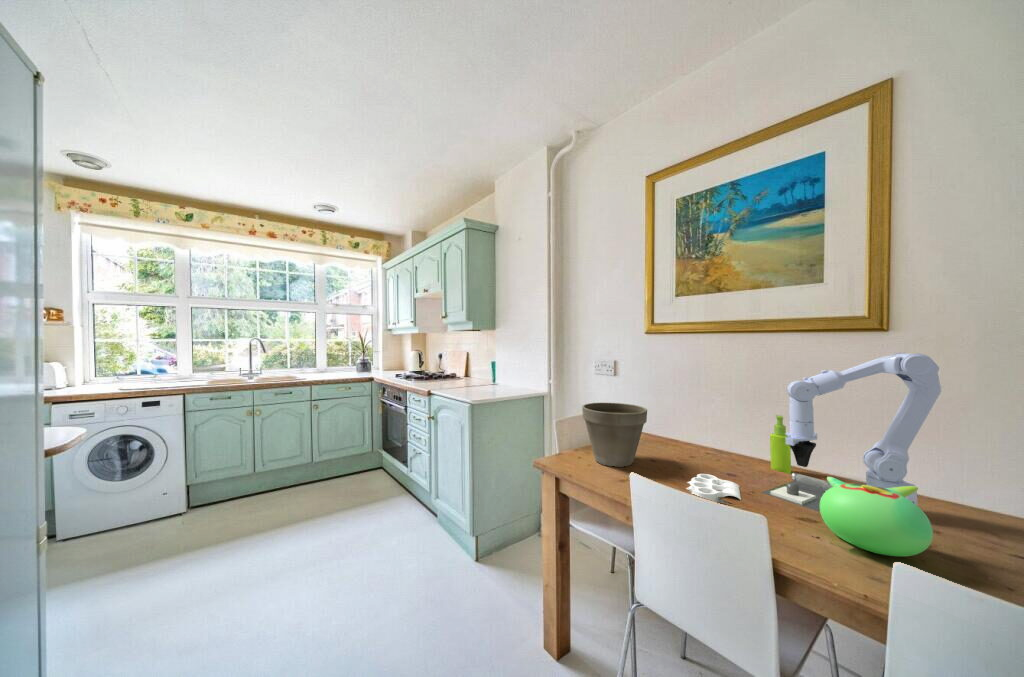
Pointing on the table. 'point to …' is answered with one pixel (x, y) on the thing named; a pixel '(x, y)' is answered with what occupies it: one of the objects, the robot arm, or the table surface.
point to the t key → (811, 481)
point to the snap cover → (793, 494)
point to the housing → (807, 489)
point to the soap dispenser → (780, 448)
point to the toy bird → (876, 518)
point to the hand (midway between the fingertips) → (802, 465)
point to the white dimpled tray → (713, 488)
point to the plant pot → (614, 431)
